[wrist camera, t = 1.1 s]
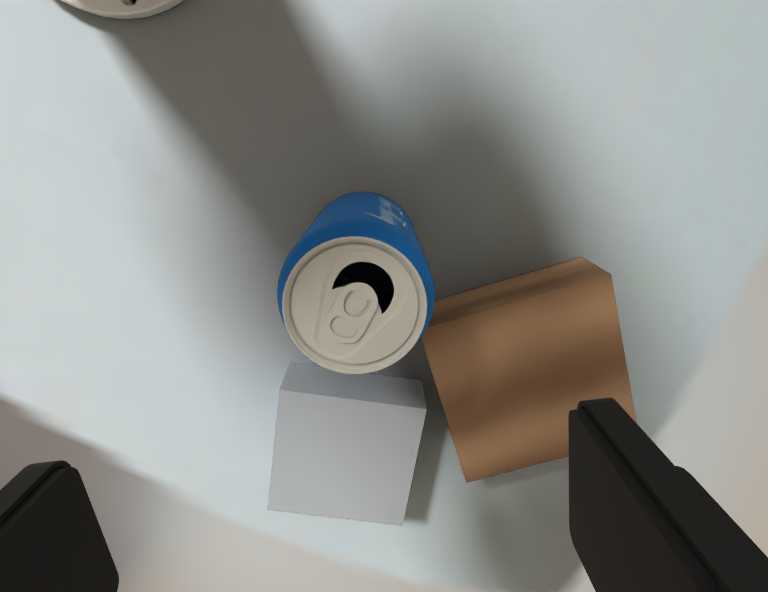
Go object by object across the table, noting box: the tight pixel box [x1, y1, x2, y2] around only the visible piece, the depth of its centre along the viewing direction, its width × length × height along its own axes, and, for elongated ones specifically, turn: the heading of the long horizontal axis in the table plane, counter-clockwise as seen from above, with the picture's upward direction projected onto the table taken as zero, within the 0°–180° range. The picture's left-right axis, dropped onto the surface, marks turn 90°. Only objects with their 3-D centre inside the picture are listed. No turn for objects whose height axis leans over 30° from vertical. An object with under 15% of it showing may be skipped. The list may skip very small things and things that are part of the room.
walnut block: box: [421, 257, 636, 483], centre depth 31 cm, size 11×11×4 cm
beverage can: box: [277, 192, 435, 374], centre depth 24 cm, size 6×6×12 cm
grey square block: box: [268, 363, 427, 526], centre depth 33 cm, size 9×9×4 cm
